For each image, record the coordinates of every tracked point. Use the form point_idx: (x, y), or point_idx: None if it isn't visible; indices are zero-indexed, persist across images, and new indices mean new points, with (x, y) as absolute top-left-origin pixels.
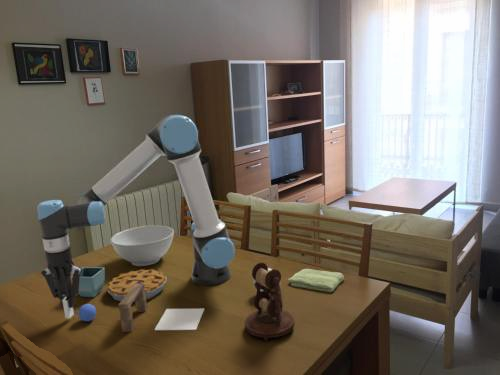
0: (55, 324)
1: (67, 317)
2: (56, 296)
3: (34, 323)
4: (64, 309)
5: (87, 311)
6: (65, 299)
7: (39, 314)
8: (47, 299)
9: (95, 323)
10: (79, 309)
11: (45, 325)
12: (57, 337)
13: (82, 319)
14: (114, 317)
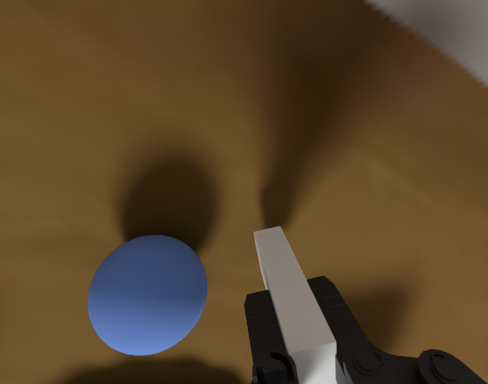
0: (323, 182)
1: (268, 231)
2: (424, 373)
3: (448, 166)
4: (296, 267)
5: (98, 291)
6: (291, 359)
7: (457, 238)
8: (470, 326)
9: (92, 240)
10: (183, 294)
11: (375, 162)
12: (204, 48)
13: (152, 236)
14: (42, 304)
